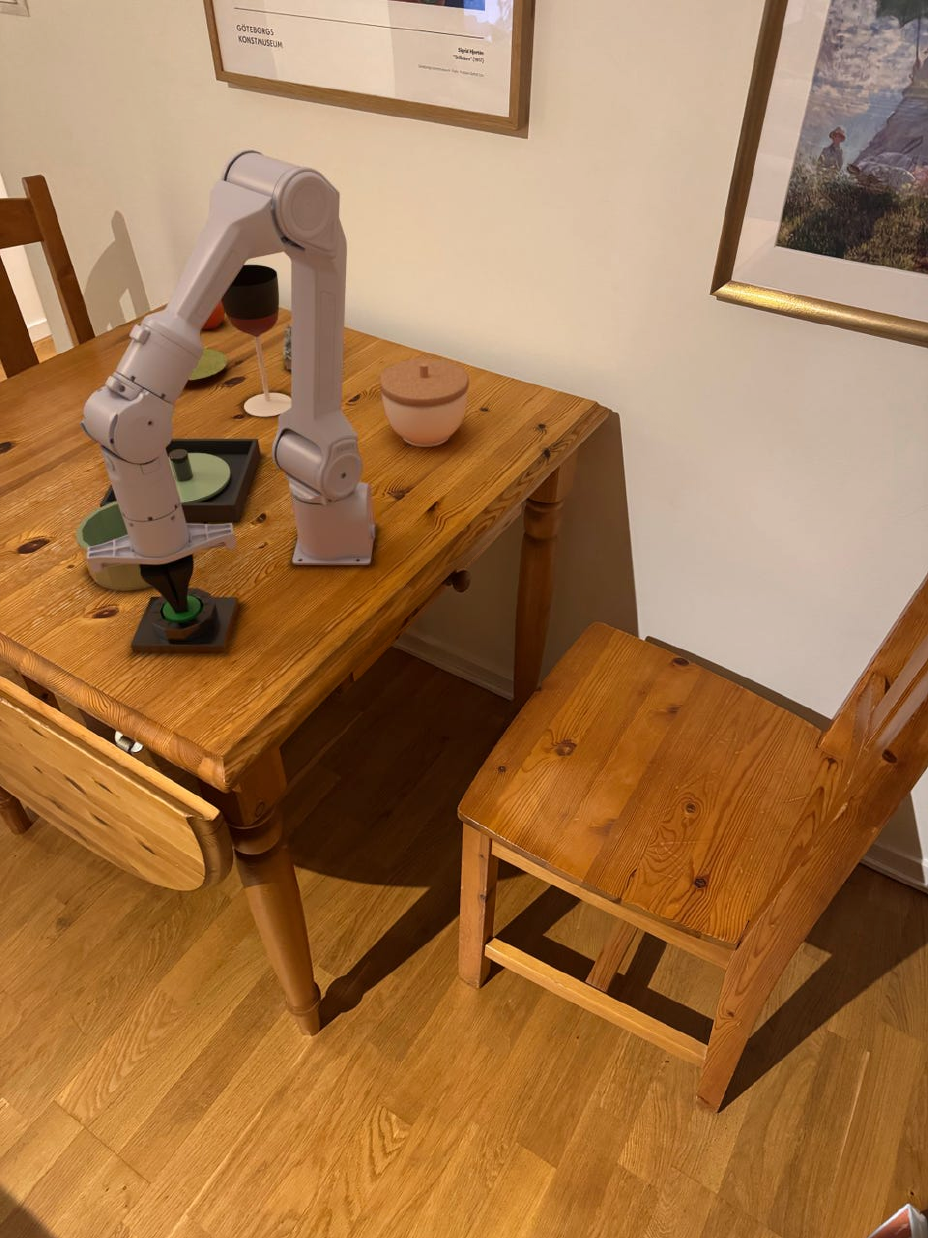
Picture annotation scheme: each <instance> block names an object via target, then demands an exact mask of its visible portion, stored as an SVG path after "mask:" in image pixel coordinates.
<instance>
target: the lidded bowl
mask: <svg viewBox="0 0 928 1238" xmlns="http://www.w3.org/2000/svg"><path fill="white" fill-rule="evenodd" d="M469 377H470V376H469V374H468V372H467V370H466V369H465V368H464V367H462V366H461V365H459V364H457V363H455V362H453V361H452V360H451V361H450V360H448V359H443V358H435V357H415V358H409V359H405V360H401V361H398V362H394V363H393V364H391V365H389V366H388V367H386V368H385V369H384V370H383V371H382V372H381V374H380V376H379V382H378V383H379V389H380V393H381V402H382V407H383V408H382V409H383V411H384V415H385V417H386V420H387V422H388V424H389V426H390V427H391V428H392V430H393V431H394V432H395V434H397V435H398V436H399V437H401V438H402V440H403V441H404V442H405V443H407V444H409V445H411V446H414V447H420V448H431V447H432V448H433V447H437V446H441V445H442V444H444V443H447V441H449V439H450V437H451V436H452V435H454V433H456V431H458V429H459V428H460V426H461V424H462V423H463V421H464V418H465V416H466V412H467V407H468V400H469V399H468V398H469V387H470V378H469Z"/></svg>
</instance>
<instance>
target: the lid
mask: <svg viewBox="0 0 928 1238" xmlns="http://www.w3.org/2000/svg"><path fill="white" fill-rule="evenodd" d="M168 459H169V462H170V465H171V469H172V473H173V476H174V480H175V484H176V487H177V491H178V495H179V498H180V502H201V501H204V500H206V499H209V498H211V497H213V496H215V495H216V494H218V493H219V492H220V491H222V490H223V489H224V488H225V487H226V486H227V484H228V483H229V481H230V478H231V472H230V468H229V466H228V464H227V463H226V462H225V461H224V460H222V459H221V458H219V457H216V456H214V455H210V454H204V453H188V452H187V451H186V450H184V449H177V450H174V451H172V452H170V454H169V457H168Z"/></svg>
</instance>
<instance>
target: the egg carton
mask: <svg viewBox="0 0 928 1238" xmlns="http://www.w3.org/2000/svg"><path fill="white" fill-rule="evenodd" d="M282 354H283V359H284V360H285V362H286V370H289V371H291V326H290V324H289V323H287V324H286V326H285V329H284V338H283V345H282Z"/></svg>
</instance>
